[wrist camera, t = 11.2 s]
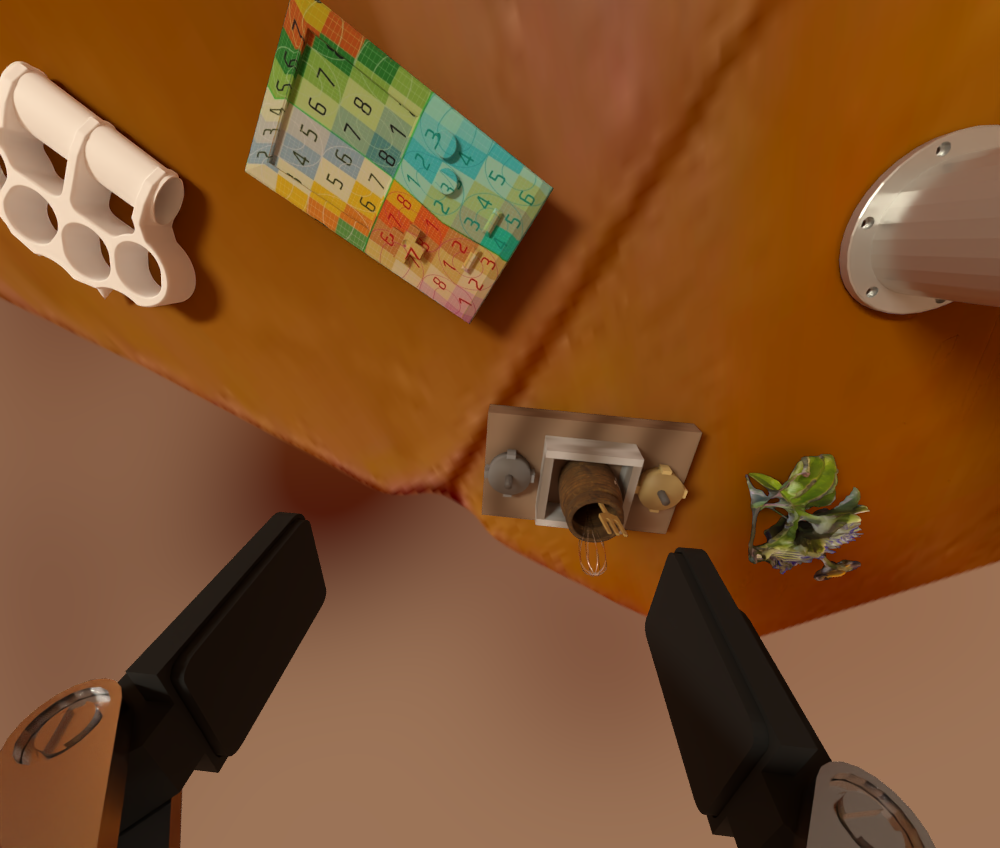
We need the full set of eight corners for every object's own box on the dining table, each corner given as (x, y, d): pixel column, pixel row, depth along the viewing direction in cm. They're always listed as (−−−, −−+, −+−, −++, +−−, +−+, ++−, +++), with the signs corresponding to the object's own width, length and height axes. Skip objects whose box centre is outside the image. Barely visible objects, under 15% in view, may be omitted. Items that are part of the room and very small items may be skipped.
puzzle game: (467, 326, 30) (235, 168, 27) (475, 316, 35) (275, 179, 31) (553, 186, 26) (285, -30, 22) (550, 194, 30) (325, 14, 26)
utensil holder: (551, 495, 40) (559, 586, 29) (564, 446, 37) (578, 527, 27) (604, 504, 40) (631, 598, 29) (621, 455, 37) (658, 541, 27)
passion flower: (757, 486, 46) (765, 586, 41) (704, 451, 43) (704, 556, 37) (877, 470, 37) (907, 595, 32) (822, 423, 33) (846, 557, 28)
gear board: (693, 423, 37) (716, 448, 33) (660, 521, 43) (674, 553, 39) (490, 404, 38) (484, 425, 34) (483, 503, 44) (478, 532, 39)
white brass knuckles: (228, 206, 32) (181, 335, 38) (6, 38, 28) (-9, 210, 34) (196, 202, 29) (150, 343, 35) (-57, 13, 25) (-62, 207, 31)
